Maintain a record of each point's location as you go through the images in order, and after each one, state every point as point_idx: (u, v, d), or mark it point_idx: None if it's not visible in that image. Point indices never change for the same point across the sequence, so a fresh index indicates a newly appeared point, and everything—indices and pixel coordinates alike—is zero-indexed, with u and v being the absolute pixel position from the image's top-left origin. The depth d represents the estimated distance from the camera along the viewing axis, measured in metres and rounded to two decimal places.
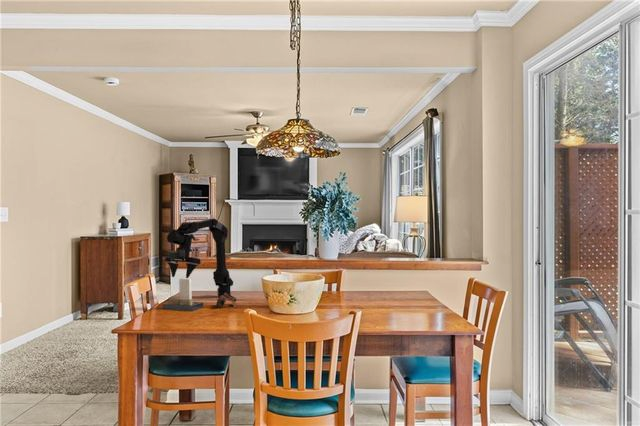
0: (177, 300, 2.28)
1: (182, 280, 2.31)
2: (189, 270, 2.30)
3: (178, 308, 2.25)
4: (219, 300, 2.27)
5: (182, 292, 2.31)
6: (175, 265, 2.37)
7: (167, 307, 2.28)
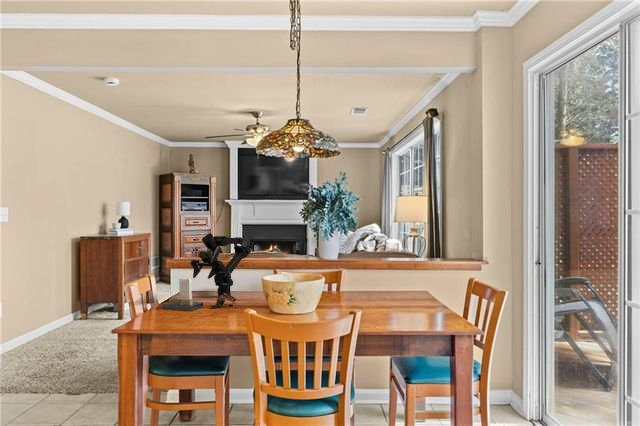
0: (177, 300, 2.28)
1: (182, 280, 2.31)
2: (212, 272, 2.43)
3: (178, 308, 2.25)
4: (218, 300, 2.27)
5: (182, 292, 2.31)
6: (198, 269, 2.50)
7: (167, 307, 2.28)
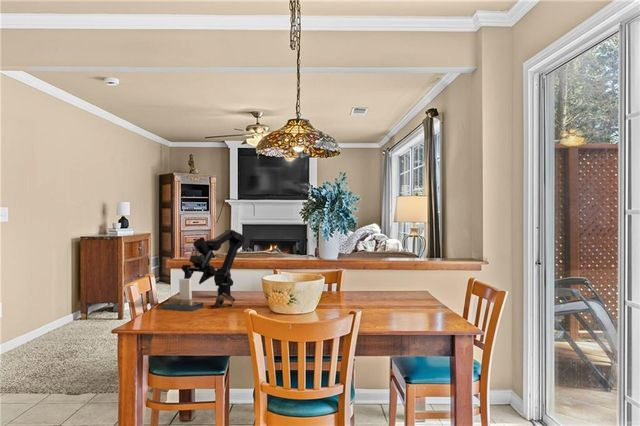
0: (177, 300, 2.28)
1: (182, 280, 2.31)
2: (204, 277, 2.36)
3: (178, 308, 2.25)
4: (218, 300, 2.27)
5: (182, 292, 2.31)
6: (189, 274, 2.43)
7: (167, 307, 2.28)
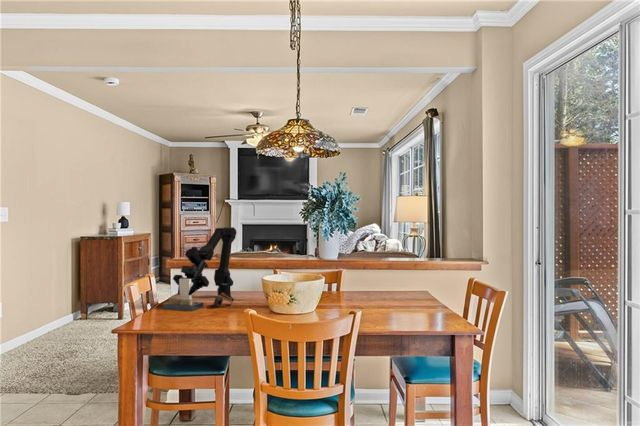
0: (177, 300, 2.28)
1: (182, 280, 2.31)
2: (193, 288, 2.31)
3: (178, 308, 2.25)
4: (216, 300, 2.28)
5: (182, 292, 2.31)
6: None
7: (167, 307, 2.28)
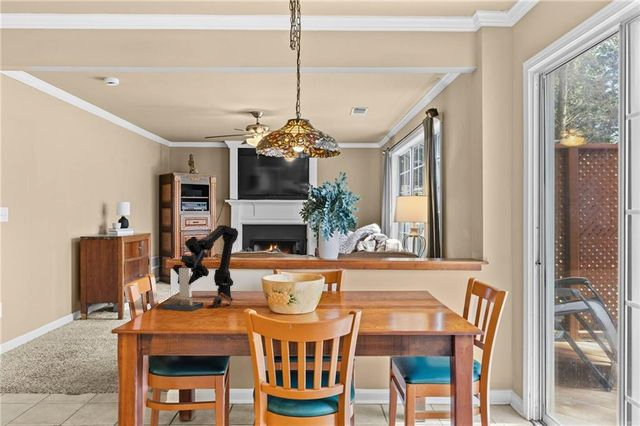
0: (177, 300, 2.28)
1: (182, 269, 2.31)
2: (193, 277, 2.31)
3: (178, 308, 2.25)
4: (216, 300, 2.28)
5: (182, 281, 2.31)
6: None
7: (167, 307, 2.28)
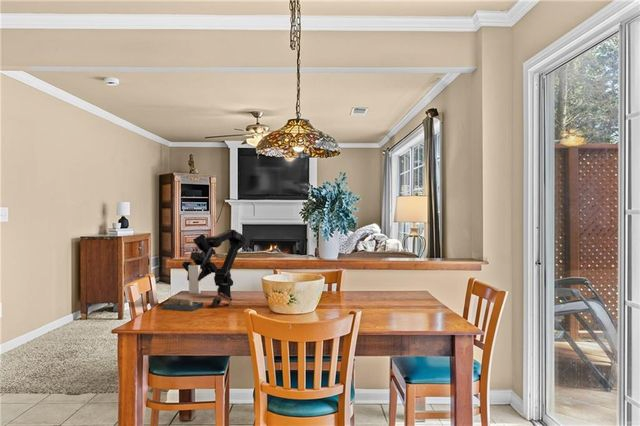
0: (177, 300, 2.28)
1: (191, 266, 2.38)
2: (202, 274, 2.38)
3: (178, 308, 2.25)
4: (215, 299, 2.28)
5: (191, 277, 2.38)
6: None
7: (167, 307, 2.28)
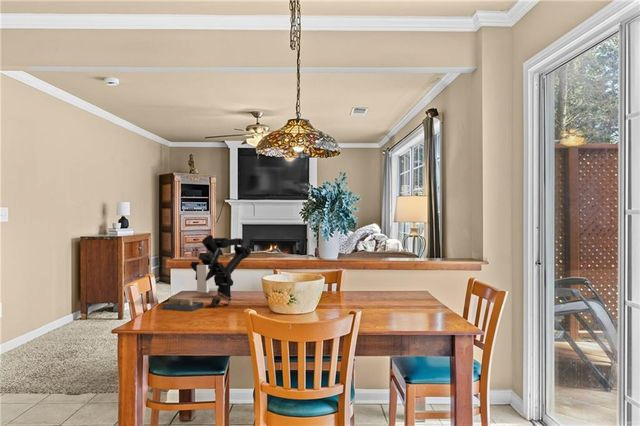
0: (177, 300, 2.28)
1: (199, 266, 2.44)
2: (210, 273, 2.44)
3: (178, 308, 2.25)
4: (214, 299, 2.29)
5: (199, 277, 2.44)
6: None
7: (167, 307, 2.28)
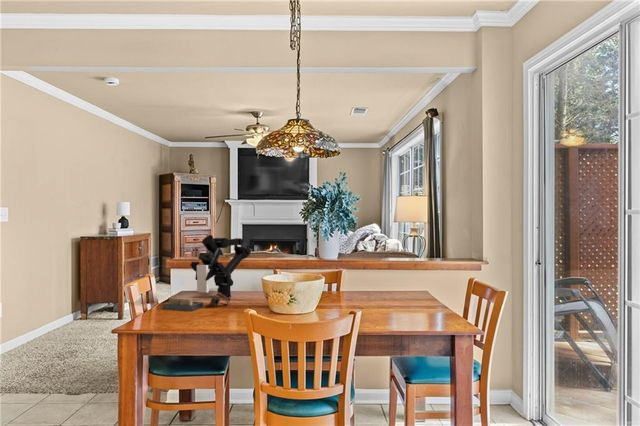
0: (177, 300, 2.28)
1: (199, 266, 2.44)
2: (210, 273, 2.44)
3: (178, 308, 2.25)
4: (213, 299, 2.29)
5: (199, 277, 2.44)
6: None
7: (167, 307, 2.28)
